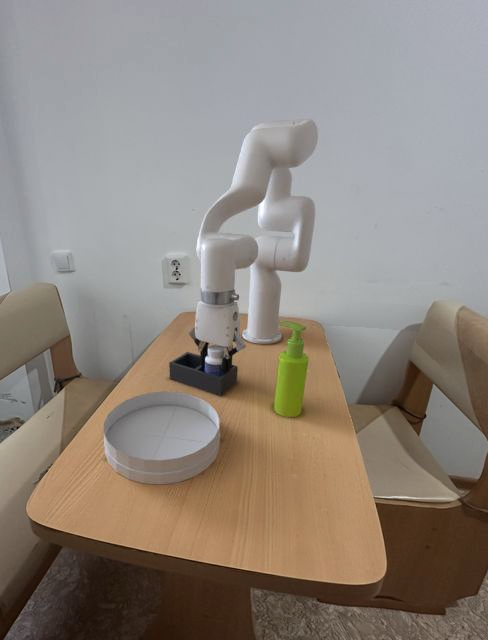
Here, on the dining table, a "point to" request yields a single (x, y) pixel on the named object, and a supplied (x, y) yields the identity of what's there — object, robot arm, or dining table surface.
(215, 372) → the pill bottle
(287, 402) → the soap dispenser
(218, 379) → the holder
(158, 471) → the dish
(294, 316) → the dining table surface
